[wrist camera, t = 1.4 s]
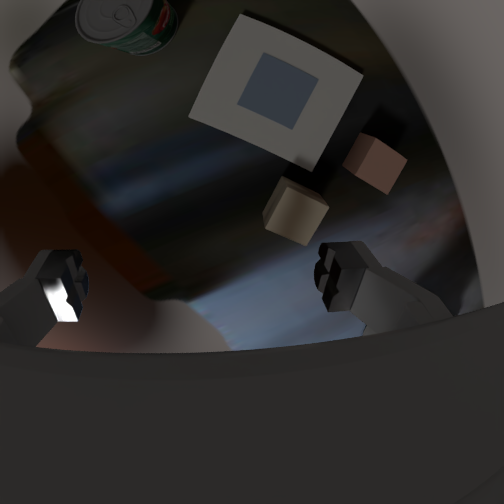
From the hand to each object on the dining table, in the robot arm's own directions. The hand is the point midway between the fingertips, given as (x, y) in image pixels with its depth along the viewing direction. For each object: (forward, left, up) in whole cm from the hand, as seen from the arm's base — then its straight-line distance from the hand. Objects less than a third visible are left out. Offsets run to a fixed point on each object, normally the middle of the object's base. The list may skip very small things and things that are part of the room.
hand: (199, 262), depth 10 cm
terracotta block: (-16, -6, -28) cm, 33 cm away
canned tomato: (+16, -10, -28) cm, 34 cm away
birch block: (-10, +4, -28) cm, 30 cm away
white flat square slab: (-2, -8, -28) cm, 29 cm away
